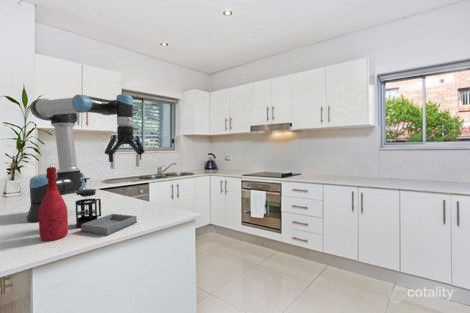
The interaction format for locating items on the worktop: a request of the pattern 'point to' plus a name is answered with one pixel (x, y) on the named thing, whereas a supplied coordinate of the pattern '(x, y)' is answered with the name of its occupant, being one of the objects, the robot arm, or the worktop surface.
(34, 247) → the worktop surface
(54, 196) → the wine bottle
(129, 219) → the tray
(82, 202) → the french press
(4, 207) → the worktop surface
